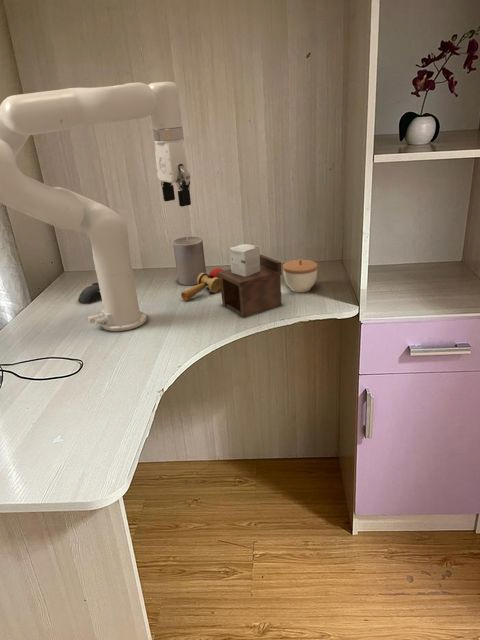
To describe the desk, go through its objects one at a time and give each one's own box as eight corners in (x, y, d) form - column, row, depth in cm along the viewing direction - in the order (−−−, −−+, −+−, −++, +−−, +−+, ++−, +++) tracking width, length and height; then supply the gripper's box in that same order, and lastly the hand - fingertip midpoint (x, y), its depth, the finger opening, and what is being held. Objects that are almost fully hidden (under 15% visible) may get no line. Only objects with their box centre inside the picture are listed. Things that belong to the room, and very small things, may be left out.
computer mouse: (63, 298, 170) (61, 286, 168) (108, 281, 182) (106, 270, 180) (86, 305, 163) (83, 293, 161) (131, 288, 175) (128, 276, 173)
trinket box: (316, 295, 160) (316, 265, 155) (281, 294, 162) (280, 265, 157) (319, 282, 169) (319, 254, 165) (286, 282, 171) (285, 254, 167)
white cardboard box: (231, 273, 150) (228, 248, 147) (246, 267, 154) (244, 242, 151) (246, 277, 146) (244, 251, 143) (261, 271, 150) (259, 246, 147)
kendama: (196, 307, 160) (235, 282, 170) (189, 288, 157) (229, 263, 168) (180, 306, 165) (219, 281, 176) (173, 288, 162) (213, 264, 173)
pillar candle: (185, 275, 184) (180, 232, 177) (211, 276, 181) (206, 233, 174) (173, 284, 175) (166, 240, 169) (199, 286, 173) (194, 241, 166)
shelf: (242, 318, 148) (238, 273, 142) (221, 305, 157) (216, 263, 151) (283, 305, 154) (281, 262, 148) (260, 294, 163) (257, 253, 157)
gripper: (141, 135, 141) (151, 201, 149) (169, 138, 128) (178, 210, 136) (167, 132, 144) (175, 196, 152) (197, 135, 131) (204, 205, 139)
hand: (177, 203), depth 144 cm, fingers open, 9 cm apart
